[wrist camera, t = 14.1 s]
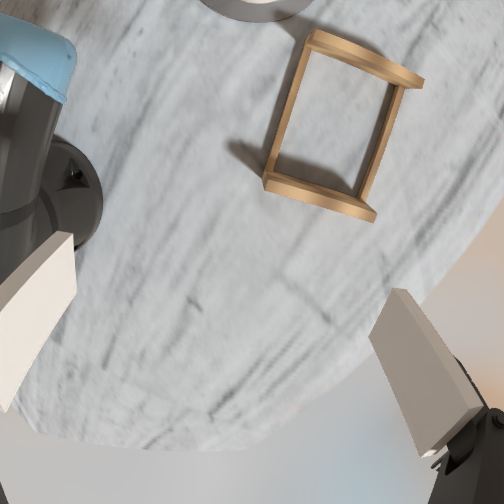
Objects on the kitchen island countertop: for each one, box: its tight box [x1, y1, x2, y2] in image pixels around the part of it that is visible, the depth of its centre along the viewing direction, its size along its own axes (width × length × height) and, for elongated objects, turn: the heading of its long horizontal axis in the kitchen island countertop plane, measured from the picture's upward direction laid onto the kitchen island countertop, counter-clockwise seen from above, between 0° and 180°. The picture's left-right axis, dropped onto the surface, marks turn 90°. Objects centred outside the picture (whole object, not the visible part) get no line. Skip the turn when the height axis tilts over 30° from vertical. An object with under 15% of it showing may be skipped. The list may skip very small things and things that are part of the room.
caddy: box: [262, 29, 425, 223], centre depth 31 cm, size 13×17×5 cm
